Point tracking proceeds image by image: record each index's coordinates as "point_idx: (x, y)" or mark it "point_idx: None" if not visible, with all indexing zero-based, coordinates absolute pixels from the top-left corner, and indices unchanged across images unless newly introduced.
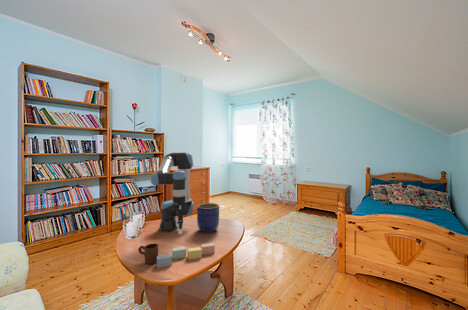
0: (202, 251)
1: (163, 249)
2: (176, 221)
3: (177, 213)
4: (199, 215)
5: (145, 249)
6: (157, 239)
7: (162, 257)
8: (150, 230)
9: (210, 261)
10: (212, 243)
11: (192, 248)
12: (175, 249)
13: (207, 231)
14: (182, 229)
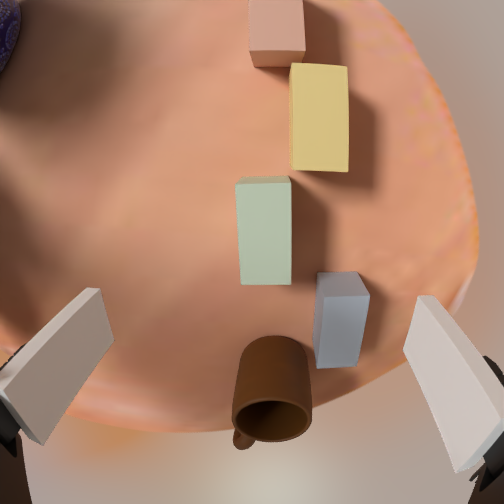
0: (302, 59)
1: (144, 300)
2: (78, 385)
3: (19, 491)
4: None
5: (289, 435)
6: (40, 311)
7: (350, 343)
8: None
9: (400, 51)
10: None
11: (301, 130)
12: (269, 264)
13: (14, 39)
14: (459, 334)
